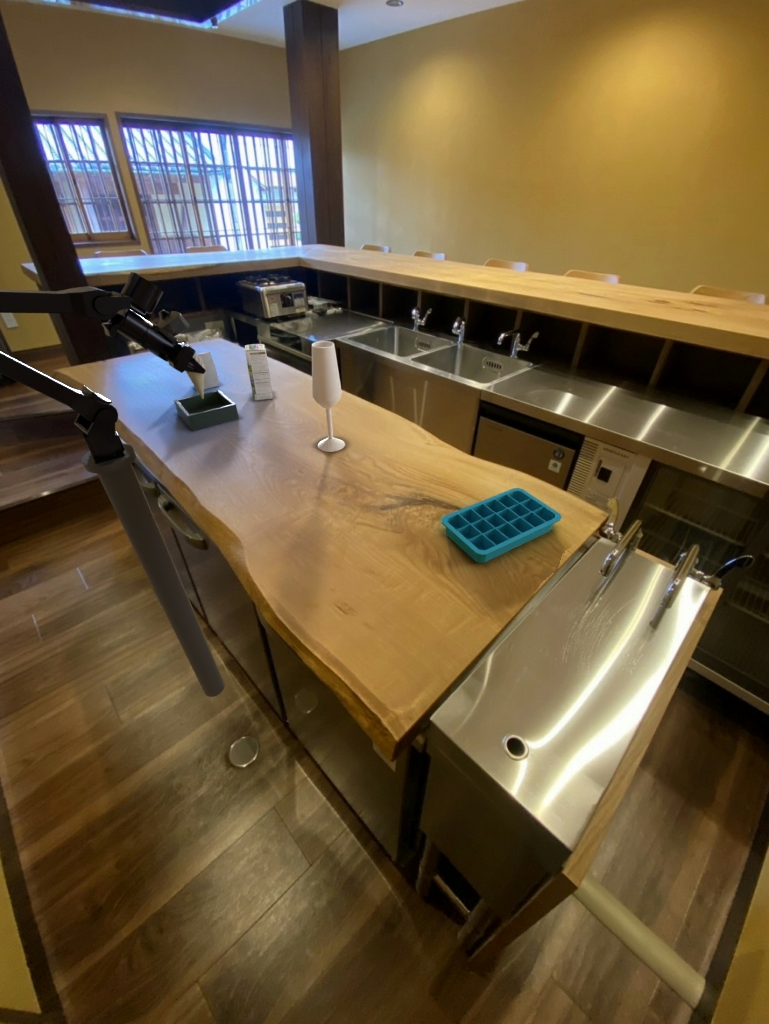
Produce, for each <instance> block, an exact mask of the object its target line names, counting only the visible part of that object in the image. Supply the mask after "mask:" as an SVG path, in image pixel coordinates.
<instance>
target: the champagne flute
mask: <svg viewBox="0 0 769 1024" xmlns="http://www.w3.org/2000/svg"><path fill="white" fill-rule="evenodd" d="M311 396H312V398H313V400H314V401H315V403H316V404H318V405H319V406H321V407H322V408H324V409H325V414H326V427H327V437H326V438H325V439H323V440H321V441H319V442H318V444H317V448H318V449H319V450H320V451H323V452H329V453H330V452H331V453H333V452H338V451H341V450H342V449H344V448H345V447H346V443H345V441H344V440H342V439H340V438H336V437H334V430H333V419H332V418H333V417H332V408H334V407H335V406H336V405H337V404H338V403H339V401H340V400H341V398H342V396H343V391H342V383H341V378H340V372H339V366H338V360H337V352H336V346H335V343H334V342H333V341H329V340H319V341H318V340H317V341H314V342H312V343H311Z"/></svg>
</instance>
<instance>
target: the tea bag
mask: <svg viewBox="0 0 769 1024" xmlns="http://www.w3.org/2000/svg"><path fill="white" fill-rule="evenodd" d="M196 354H197V355H198V356H199V357H200V358H201V359H202V360H203V364H204V367H205V370H206V371H205V376H204V390H206V389H211V388H216V387H219V386H221V384H220V381H219V376H218V372H217V368H216V365H215V362H214V359H213V357H212V354H211V351H205V352H200V353H196ZM193 387H194V388H195V386H194V385H193Z"/></svg>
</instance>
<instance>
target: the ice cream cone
mask: <svg viewBox="0 0 769 1024" xmlns="http://www.w3.org/2000/svg"><path fill="white" fill-rule="evenodd" d="M185 344H186V345H188V346H190V347H191V348H193V347H192V345H191V344H190V342H189V341H188V340H186V343H185ZM197 354H198V353H197V351H196V350H195V354H194V356H193V358H194V359H195V360H196V361H197V362H198V363H199V364H200V365H201V366H202V367H203V368H204V369H205V367H204V364H203V360H202V359H201V358H200V357H199V356H198V355H197ZM185 373H186V374H187V376H188V378H189V379H190V381H191V383H192V384H193V387H194V386H195V387H194V388H195V390H196V391H197V393H198V395H200V397H201V398H202V399H204V393H205V389H204V376H205V373H204V374H201V373H195V372H189V371H185Z"/></svg>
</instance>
